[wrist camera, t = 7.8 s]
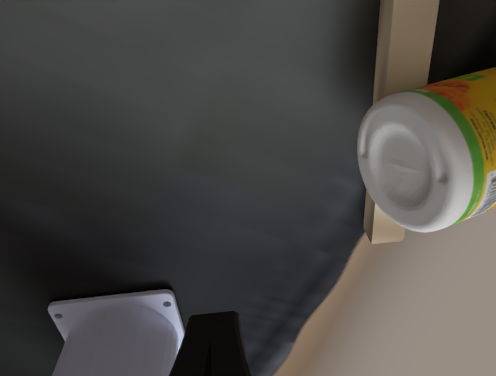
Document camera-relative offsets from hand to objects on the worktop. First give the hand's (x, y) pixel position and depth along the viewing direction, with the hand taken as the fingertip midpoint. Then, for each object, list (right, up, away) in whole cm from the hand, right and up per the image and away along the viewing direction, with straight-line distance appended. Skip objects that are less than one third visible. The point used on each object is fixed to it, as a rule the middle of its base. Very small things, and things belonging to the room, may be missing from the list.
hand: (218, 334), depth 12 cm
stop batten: (+8, +8, +8) cm, 14 cm away
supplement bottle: (+6, +5, +3) cm, 9 cm away
